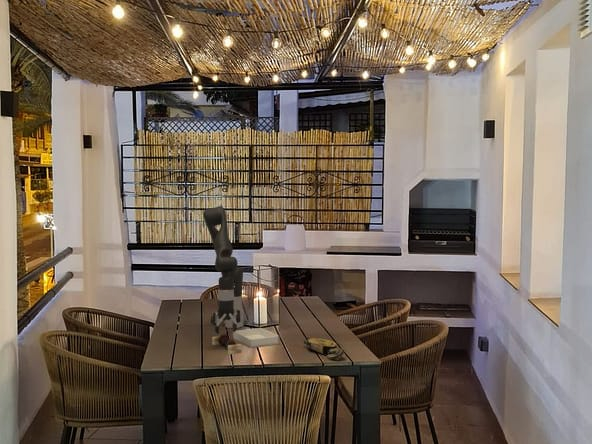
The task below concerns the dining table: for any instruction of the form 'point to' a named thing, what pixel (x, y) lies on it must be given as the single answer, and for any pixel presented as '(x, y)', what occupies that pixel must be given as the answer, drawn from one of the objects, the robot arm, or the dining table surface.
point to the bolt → (225, 341)
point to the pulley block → (324, 347)
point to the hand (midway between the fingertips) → (225, 332)
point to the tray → (256, 337)
